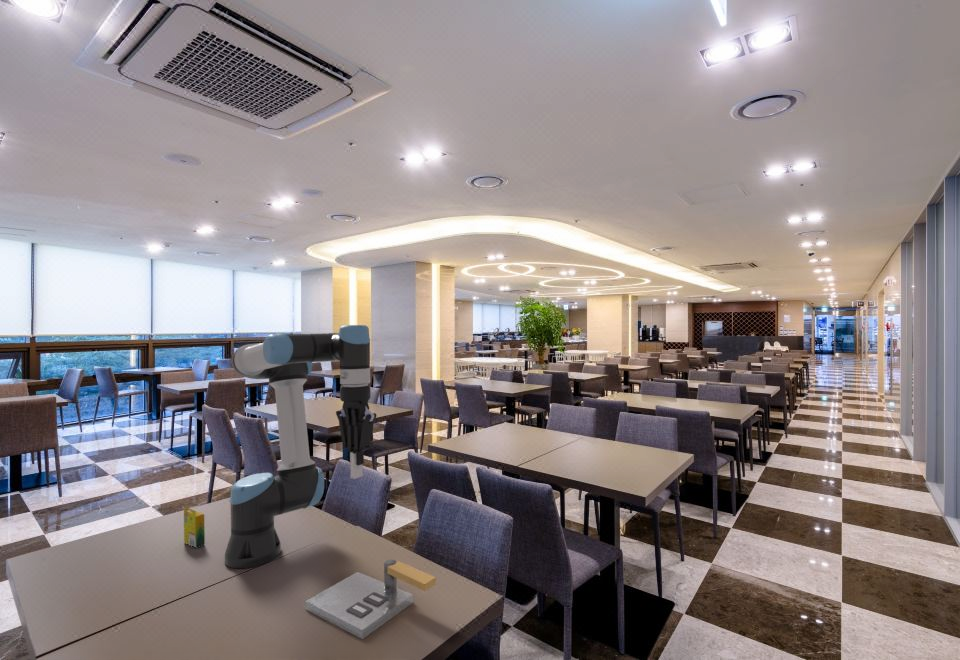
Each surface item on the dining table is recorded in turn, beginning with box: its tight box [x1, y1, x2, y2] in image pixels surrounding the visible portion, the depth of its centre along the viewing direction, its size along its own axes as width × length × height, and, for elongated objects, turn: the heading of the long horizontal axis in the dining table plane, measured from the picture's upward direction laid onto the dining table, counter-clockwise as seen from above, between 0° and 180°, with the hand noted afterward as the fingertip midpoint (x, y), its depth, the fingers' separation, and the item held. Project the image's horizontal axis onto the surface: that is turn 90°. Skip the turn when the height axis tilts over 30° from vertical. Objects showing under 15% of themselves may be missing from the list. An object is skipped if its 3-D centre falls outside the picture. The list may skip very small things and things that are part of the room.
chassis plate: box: [304, 571, 414, 640], centre depth 111 cm, size 20×16×2 cm
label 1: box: [346, 602, 373, 618], centre depth 106 cm, size 5×4×1 cm
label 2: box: [363, 592, 388, 607], centre depth 110 cm, size 5×4×1 cm
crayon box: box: [183, 506, 206, 548], centre depth 146 cm, size 7×3×12 cm, turn 58°
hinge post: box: [383, 571, 398, 593], centre depth 114 cm, size 3×3×7 cm
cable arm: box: [383, 559, 437, 592], centre depth 110 cm, size 16×4×2 cm, turn 51°
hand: (356, 476), depth 117 cm, fingers closed
